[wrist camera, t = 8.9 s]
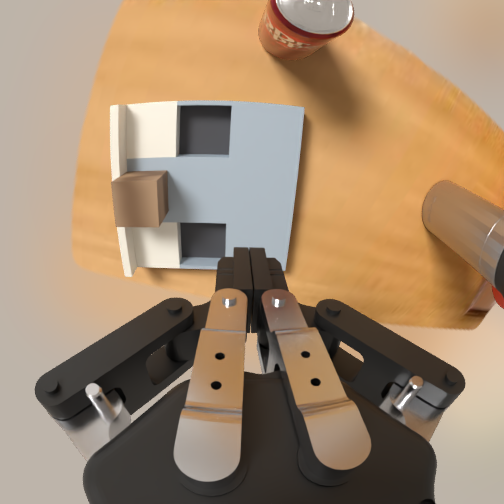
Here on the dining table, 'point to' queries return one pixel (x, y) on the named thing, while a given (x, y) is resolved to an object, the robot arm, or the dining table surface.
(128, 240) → the end stop
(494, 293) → the red round cluster
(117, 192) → the walnut block
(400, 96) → the dining table surface
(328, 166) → the dining table surface
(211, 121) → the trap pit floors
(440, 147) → the dining table surface
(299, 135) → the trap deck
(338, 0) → the soda can
